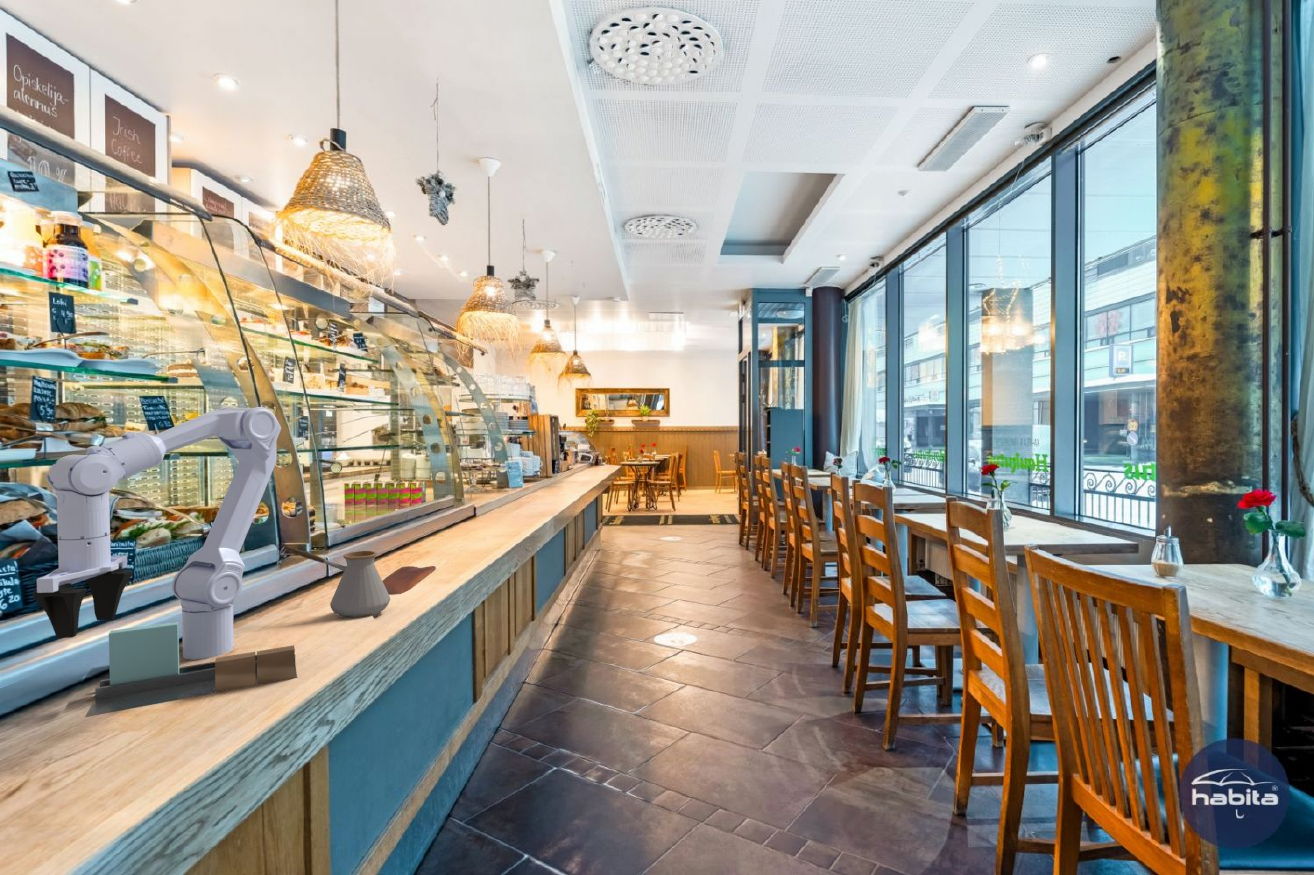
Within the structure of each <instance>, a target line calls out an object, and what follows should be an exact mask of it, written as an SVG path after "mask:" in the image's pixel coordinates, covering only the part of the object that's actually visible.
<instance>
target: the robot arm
mask: <svg viewBox="0 0 1314 875" xmlns="http://www.w3.org/2000/svg"><path fill="white" fill-rule="evenodd" d="M281 431H282V427H281V424H280V423H279V421H278V419H277V417H276V415H275V414H274V413H273V411H272V410H270V409H268V408H267V407H263V406H259V407H258V406H257V407H234V406H224V407H221V408H220V409H217V410H216V409H215V410H209V411H207V412H206V413H203V414H201V415H198V416H197V417H194V418H192V419H189V420H187V421H185V422H181V423H179V424H177V425H176V426H173V427H171V428H168V429H166V430H164V431H161V432H159V433H156V434H154V435H151V434H148V433H146V432H141V431H140V432H134V431H126V432H125V433H122V434H120V436H121V438H120V439H117V440H115V441H112V442H109V443H107V444H103V445H100V446H99V445H91V446H88V447H87V448H86V450H87V451H86V453H85V454H68V455H65V456H63V457H60V458H58V459H57V460H56V461H55V463H53V464H52V466H51V467H50V470H49V473H48V474H46V475H45V479H46V481H47V484H48V485H49V487H50V488H52V489H53V490H54V491H55V493H56V516H57V517H56V521H57V522H56V524H57V550H58V552H57V554H58V568H56V569H55V570H53V571H51V572H50V573H48V574H46V575H44V576H41V577H38V578H36V589H35V590H33V591H32V598H33V600H34V601H35V602H37V604H38V605H39V606H40V607H41V608H42V610H43V611H44V613H45V614H46V615H47V617H48V619H49V621H50V623H51V627H52V628H53V632H54V634H55V636H56V638H57V639H68V638H69V639H70V638H74V637H76V636H77V634H78V630H79V621H80V620H79V618H80V610H81V606H82V603H83V600H84V597H85V595H86V594H87V591H88V588H75V586H72V585H73V584H74V585H75V584H77V583H80V582H82V581H86V583H87V586H88V587H89V589H90V592H91V595H92V601H93V610H94V616H95V618H96V621H113V620H115V618H116V615H117V612H118V607H119V604H120V601H121V598H122V595H123V592H124V591H125V588H126V586H127V584H128V582H129V581H130V580H131V578H132V577H133V570H132V569H125V568H127V567H128V555H126V554H125V555H124V554H123V555H122V554H120V555H114V554H113V555H111V552H112V551H111V515H110V492H111V490H113V489H114V487H115V486H117V483H118V482H121V481H124V480H125V479H128V478H130V477H133V476H135V475H137V474H140V473H143V472H144V471H147V470H149V469H152V468H154V467H157V466H159V465H160V464H162V462H163V459H164V457H165V456H166V454H168V453H171V452H173V451H176V450H177V451H178V450H179V449H182V448H185V447H187V446H190V445H192V444H196V443H198V442H201V441H205V440H207V439H209V438H210V439H211V438H213V437H216V438H217V439H218V440H219V441H220V442H221V443H222V444H223V445H224V446H226V447H227V449H229V450H230V451H231V452H232V453H233V455H234V456H235V458H236V460H237V461H238V465H237V467H236V470H235V472H234V474H233V476H232V479H231V481H230V484H229V486H228V488H227V490H226V493H225V495H224V498H223V500H222V503H221V504H220V507H219V509H218V511H217V514H216V516H215V519H214V521H213V522H212V526H210V529H209V530H210V531H209V533H208V535H207V537H206V539H205V541H204V544H203V545H202V546H201V548H199V549H198V550H196V551H194V553H192V554H190V555H189V557H188V559H187V561H186V563H185V565H184V566H183V567H182V568H181V569H180V570H179V571H177V573H176V574H175V575H174V577H173V579H172V582H171V591H172V594H173V595H174V597H176V599H178V600H180V607H181V621H182V622H181V624H182V626H181V628H182V631H181V632H182V634H181V635H182V657H183V658H184V659H187V660H204V659H205V660H206V659H210V658H211V659H212V658H217V657H220V656H222V655H224V654H225V655H226V654H228V653H229V652H232V651H233V649H234V648H235V647H234V646H235V644H234V637H235V636H234V633H235V632H234V605H235V604H236V602H235V601H236V599H238V597H239V596H240V594H241V592H242V590H243V574H244V572H245V571H244V570H245V569H246V566H245V563H244V561H243V559H242V557H241V555H240V552H241V550H242V546H243V545H244V543H245V539H246V537H247V535H248V532H249V530H250V528H251V525H252V523H253V520H254V517H255V516H256V513H257V511H258V508H259V505H260V503H261V500H262V498H263V496H264V493H265V491H266V488H267V486H268V484H269V481H270V479H271V477H272V474H273V471H274V469H275V466H276V463H277V458H278V457H277V454H278V453H277V440H278V438H279V435H280V433H281Z"/></svg>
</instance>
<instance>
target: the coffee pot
mask: <svg viewBox="0 0 1314 875" xmlns="http://www.w3.org/2000/svg"><path fill="white" fill-rule="evenodd" d="M283 550H284V551H283ZM286 551H290V552H292V554H297V555H299V556H301V557H303V558H306V559H309V560H312V561H315V562H318V563H321V564H325V565H327V566H330V567H333V568H336V569H338V570H340V571H343V573H342V575H341V578H340V580H339V582H338V584H337V587H336V590H335V591H334V594H333V596H332V599H331V601H330V603H329V604H330V609H331V610H332V612H333V613H334V614H336V615H337V616H339V617H340V618H341V619H342V620H344V619H352V618H357V617H358V618H360V617H366V616H371V615H372V617H373V618H375V617H378V616H379V615H381V613H382V611H384V610H385V609H387V607H388V605H389V604H390V601H391V595H389V594H388V592H387V590H386V588H385V586H384V583H383V581H382V580H383V579H382V578H381V575H380V573H379V571H378V569H377V567H376V565H375V559H376V556H377V555H378V552H377V551H373V550H359V551H352V552H347V553H345V554H343V556H342V557H343V559H345V563H346V565H343V564H339V563H338V562H337V563H336V562H335V561H334V562H333V561H331V560H328V559H326V558H323V557H321V556H318V555H316V554H314V553H311V552H309V551H306V550H302V549H298V547H292V546H290V545H283V547H282V548H281V549H280V551H279V555H281V556H282V555H284V554H285V552H286Z"/></svg>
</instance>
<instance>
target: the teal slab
mask: <svg viewBox="0 0 1314 875" xmlns="http://www.w3.org/2000/svg"><path fill="white" fill-rule="evenodd" d="M179 636H180V635H179V621H174V622H173V621H172V622H167V623H159V624H150V625H144V626H136V627H129V628H121V629H113V630H110V631H109V632H108V654H109V655H108V657H109V658H108V661H109V662H108V664H109V666H108V667H109V679H110V685H115V684H121V683H127V682H133V681H139V680H145V679H151V678H157V677H163V676H169V675H175V674H179V667H180V640H179Z"/></svg>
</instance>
